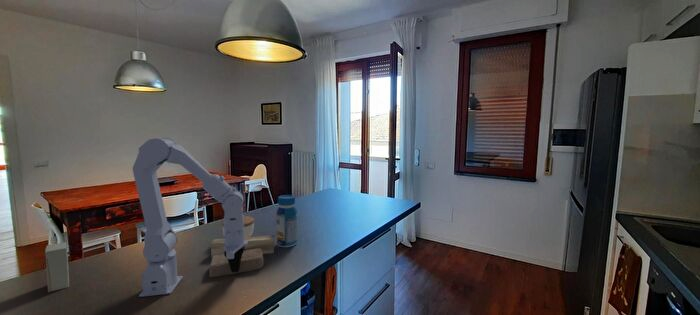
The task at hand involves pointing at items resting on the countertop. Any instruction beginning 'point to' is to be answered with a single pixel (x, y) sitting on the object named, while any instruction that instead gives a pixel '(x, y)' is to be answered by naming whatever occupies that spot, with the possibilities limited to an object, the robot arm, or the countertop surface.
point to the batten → (253, 243)
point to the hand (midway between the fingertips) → (235, 271)
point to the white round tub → (245, 226)
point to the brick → (248, 263)
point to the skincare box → (57, 266)
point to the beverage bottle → (286, 221)
